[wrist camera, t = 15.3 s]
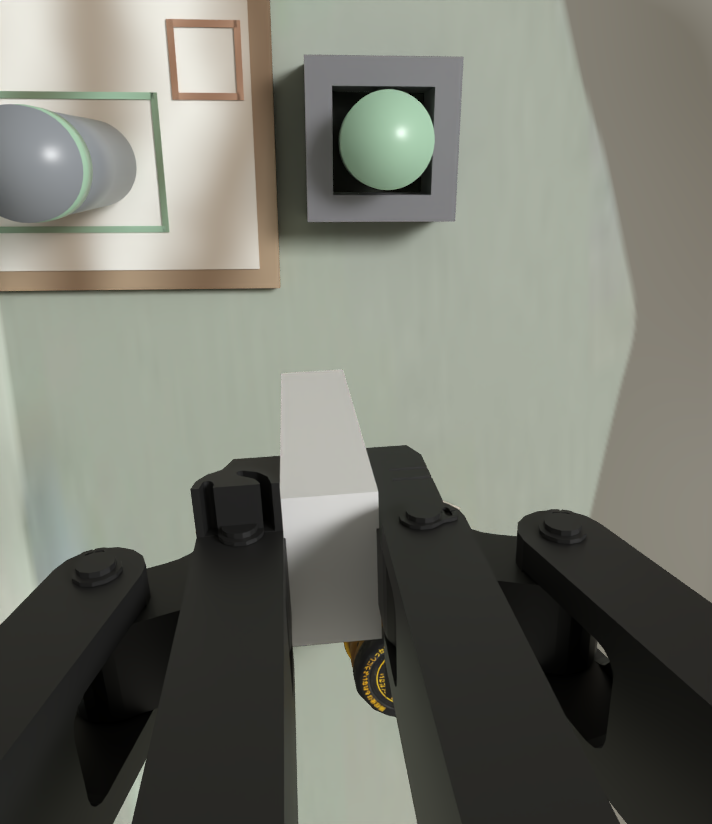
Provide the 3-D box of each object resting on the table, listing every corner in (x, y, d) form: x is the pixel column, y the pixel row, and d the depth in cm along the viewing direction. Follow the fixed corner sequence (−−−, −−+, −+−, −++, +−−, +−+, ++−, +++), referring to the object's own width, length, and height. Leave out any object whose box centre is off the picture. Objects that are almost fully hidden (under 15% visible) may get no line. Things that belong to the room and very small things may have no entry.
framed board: (-76, 289, 35) (-84, 292, 34) (-147, -32, 30) (-158, -36, 29) (280, 285, 36) (279, 288, 35) (268, -23, 31) (268, -27, 30)
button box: (307, 217, 35) (307, 222, 32) (303, 63, 32) (304, 54, 29) (442, 216, 35) (454, 221, 32) (449, 65, 33) (463, 56, 30)
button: (338, 187, 32) (341, 190, 30) (337, 95, 31) (341, 88, 28) (421, 187, 33) (432, 190, 30) (424, 95, 31) (436, 89, 28)
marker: (64, 206, 33) (-30, 224, 24) (52, 118, 32) (-53, 102, 22) (146, 206, 33) (86, 224, 24) (137, 119, 32) (70, 102, 23)
